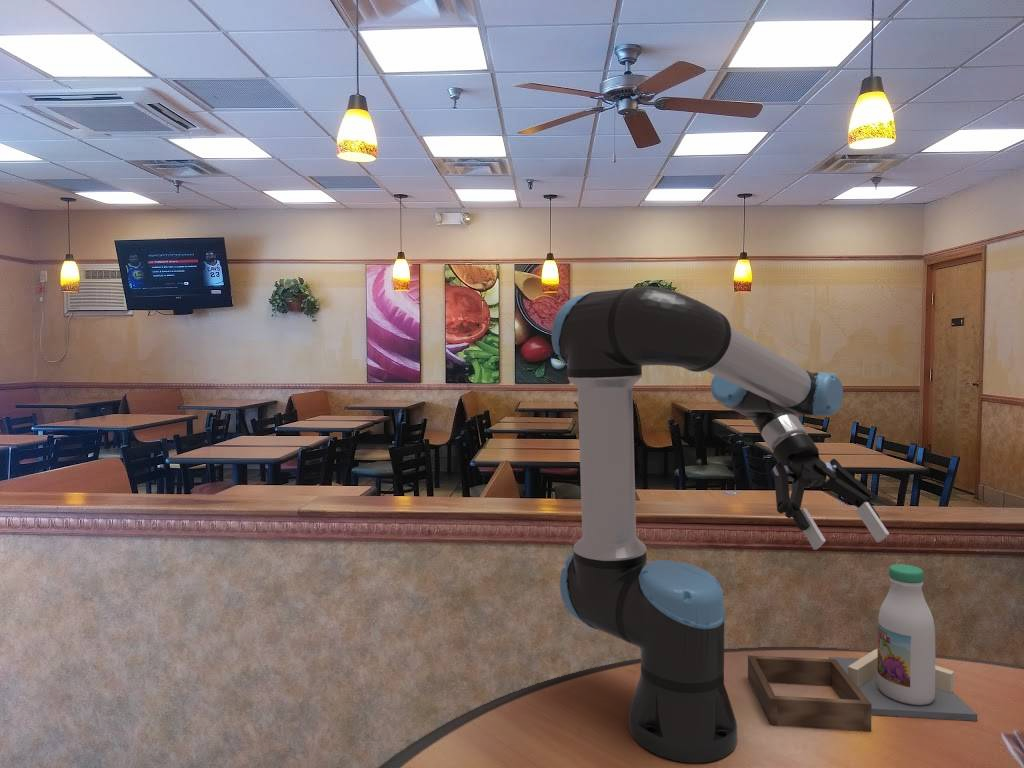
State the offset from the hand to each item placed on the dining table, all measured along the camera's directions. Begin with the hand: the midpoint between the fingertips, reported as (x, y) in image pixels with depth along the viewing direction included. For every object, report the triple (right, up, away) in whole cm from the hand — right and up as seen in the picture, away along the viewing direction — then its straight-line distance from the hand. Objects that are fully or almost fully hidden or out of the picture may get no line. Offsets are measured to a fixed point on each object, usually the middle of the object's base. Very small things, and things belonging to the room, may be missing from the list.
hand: (852, 541), depth 110 cm
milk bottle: (+3, -22, -9) cm, 24 cm away
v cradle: (+4, -23, -6) cm, 24 cm away
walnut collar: (-13, -23, -10) cm, 28 cm away
